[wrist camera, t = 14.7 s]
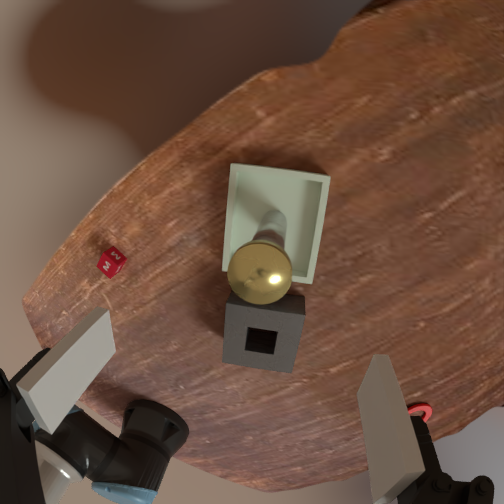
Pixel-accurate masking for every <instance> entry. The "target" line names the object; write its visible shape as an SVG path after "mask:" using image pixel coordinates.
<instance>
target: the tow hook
mask: <svg viewBox="0 0 504 504" xmlns="http://www.w3.org/2000/svg"><path fill="white" fill-rule="evenodd" d="M407 409H408V413H409V414H410V413H413V412H415V411H419V410H423V411H425V414H424V416H423V417H422V419H423V420H424V422H426V421H427V420H428V418H429V417H430V416H431V414H432V408H431V406H430V405H429V404H426V403H421V404H416V405H413V406H411V407H409V408H407Z"/></svg>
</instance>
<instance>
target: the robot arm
mask: <svg viewBox="0 0 504 504" xmlns="http://www.w3.org/2000/svg"><path fill="white" fill-rule="evenodd" d="M115 352H116V349H115V344H114V339H113V333H112V327H111V321H110V314H109V310H108V309H104V308H101V307H96V308H95V309H94V310H93V311H91V312H90V313H89V314H88V315H87V316H86V317H85V318H84V319H83V320H82V321H81V322H79V323H78V324H77V325H76V326H75V327H74V328H73V329H72V330H71V331H70V332H69V333H68V334H67V335H66V336H64V337H63V338H62V339H61V340H60V341H59V342H58V343H57V344H56V345H55V346H54V347H53V348H52V349H50V348H46V349H44V350H42V351H40V352H38V353H37V354H36V355H35V356H34V357H33V358H32V360H30V361H29V362H28V363H27V365H25V366H24V367H23V368H22V369H21V370H20V371H19V372H18V373H17V374H16V375H15V376H14V377H13V378H12V379H11V380H10V381H8V379H7V378H6V375H5V373H4V371H3V370H2V369H1V368H0V504H59V502H60V500H61V499H62V497H63V495H64V493H65V492H66V490H67V488H68V487H69V485H70V483H74V482H81V481H82V480H83V478H84V476H86V477H87V478H89V479H90V480H92V481H93V482H92V489H93V490H94V491H95V492H97V493H98V494H99V495H101V496H103V497H105V498H107V499H109V500H111V501H113V502H116V503H119V504H152V502H153V500H154V498H155V496H156V495H157V493H158V492H157V491H158V489H159V486H160V484H161V481H162V479H163V476H164V473H165V471H166V468H167V466H168V463H169V461H170V458H171V457H172V456H173V455H174V454H175V453H176V452H177V451H178V450H179V449H180V448H181V447H182V446H183V445H184V443H185V442H186V440H187V437H188V435H189V428H188V426H187V424H186V423H185V421H184V420H183V419H182V418H181V417H180V416H179V415H177V414H176V413H175V412H173V411H172V410H170V409H169V408H167V407H165V406H163V405H161V404H158V403H155V402H152V401H148V400H134V401H132V402H130V403H129V404H128V406H127V408H126V409H125V412H124V416H123V423H122V430H121V434H120V436H119V438H117V437H116V436H114V435H113V434H112V433H111V432H109V431H108V430H106V429H105V428H104V427H103V426H101V425H100V424H99V423H98V422H96V421H95V420H94V419H92V418H91V417H90V416H89V415H88V414H86V413H85V412H84V410H83V409H81V408H79V407H78V406H76V405H75V403H76V402H77V400H78V399H79V398H80V396H81V395H82V394H83V392H84V391H85V390H86V389H87V387H88V386H89V385H90V383H91V382H92V381H93V380H94V378H95V377H96V376H97V374H98V373H99V372H100V371H101V369H102V368H103V367H104V366H105V364H106V363H107V362H108V361H109V359H110V358H111V357H112V356H113V354H114V353H115ZM357 399H358V404H359V410H360V415H361V421H362V427H363V433H364V440H365V446H366V453H367V460H368V468H369V475H370V484H371V493H372V502H373V504H383V503H390V502H391V501H393V500H394V499H395V498H396V497H397V500H398V504H493V497H494V484H493V482H492V480H491V479H490V478H489V477H487V476H478V477H476V478H474V479H473V480H472V481H471V482H461V481H454V480H452V478H451V476H449V475H448V474H447V473H444V472H442V470H441V468H440V464H439V461H438V458H437V455H436V452H435V448H434V445H433V443H432V439H431V436H430V435H429V434H430V433H429V430H428V427H427V424H426V423H425V422H424V420H423V419H422V418H421V417H420V416H409V413H408V409H407V406H406V403H405V400H404V397H403V395H402V392H401V389H400V386H399V383H398V380H397V377H396V375H395V372H394V369H393V366H392V364H391V361H390V358H389V356H388V355H380V354H374V355H373V358H372V360H371V363H370V365H369V367H368V370H367V372H366V374H365V377H364V379H363V381H362V383H361V386H360V388H359V390H358V392H357ZM34 420H35V421H34ZM33 421H34V422H33ZM32 422H33V423H32Z"/></svg>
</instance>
